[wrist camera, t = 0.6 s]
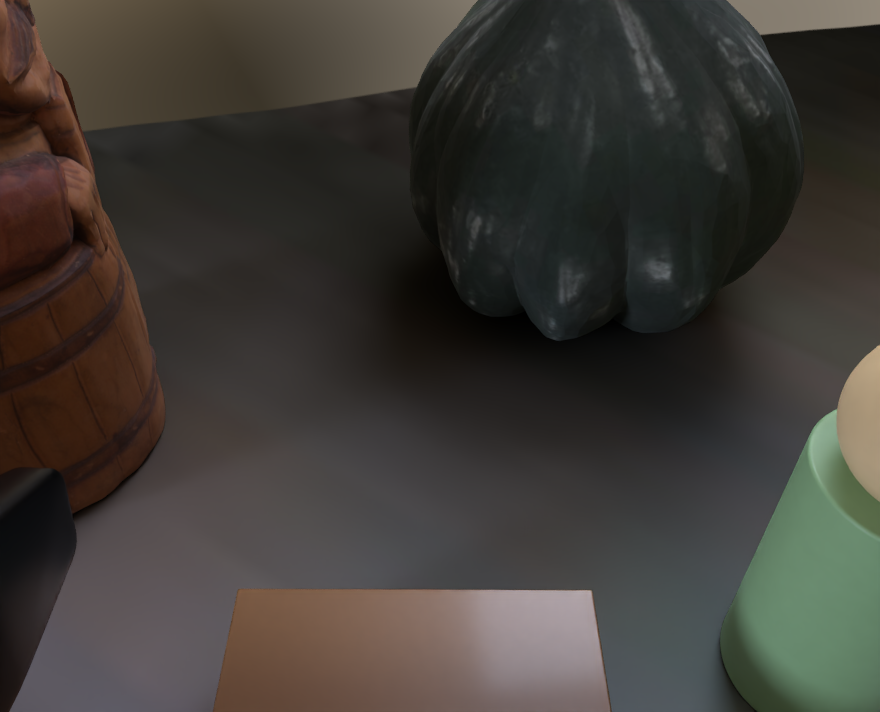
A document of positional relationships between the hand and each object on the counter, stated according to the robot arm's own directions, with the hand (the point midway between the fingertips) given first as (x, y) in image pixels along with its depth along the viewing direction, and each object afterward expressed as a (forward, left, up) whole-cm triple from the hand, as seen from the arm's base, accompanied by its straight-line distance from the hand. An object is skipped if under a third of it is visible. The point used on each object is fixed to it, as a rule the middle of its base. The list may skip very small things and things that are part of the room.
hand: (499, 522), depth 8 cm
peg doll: (+5, -10, -14) cm, 18 cm away
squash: (+23, -8, -15) cm, 28 cm away
